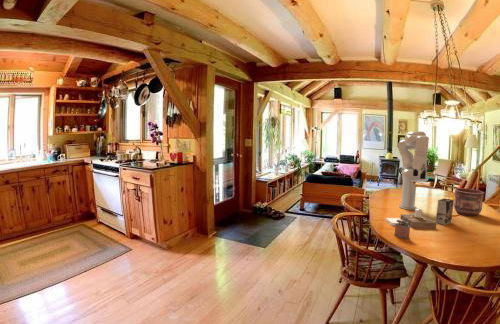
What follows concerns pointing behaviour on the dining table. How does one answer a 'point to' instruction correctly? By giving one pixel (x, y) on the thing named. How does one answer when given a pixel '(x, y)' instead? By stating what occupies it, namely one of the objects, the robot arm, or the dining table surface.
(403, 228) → the lighter
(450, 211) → the coffee box
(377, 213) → the dining table surface
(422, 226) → the plate
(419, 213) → the peg
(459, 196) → the pottery
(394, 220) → the white square base plate
